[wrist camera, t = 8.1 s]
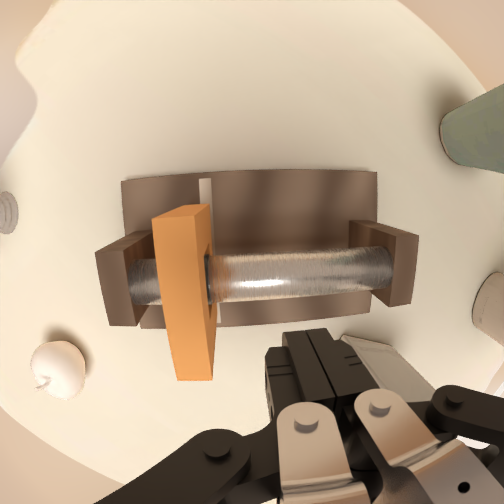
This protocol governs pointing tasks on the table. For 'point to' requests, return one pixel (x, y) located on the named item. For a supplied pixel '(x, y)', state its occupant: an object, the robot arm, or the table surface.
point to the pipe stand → (260, 237)
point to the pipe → (275, 274)
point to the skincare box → (391, 370)
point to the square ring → (186, 288)
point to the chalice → (8, 213)
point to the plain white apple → (59, 369)
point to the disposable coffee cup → (476, 132)
